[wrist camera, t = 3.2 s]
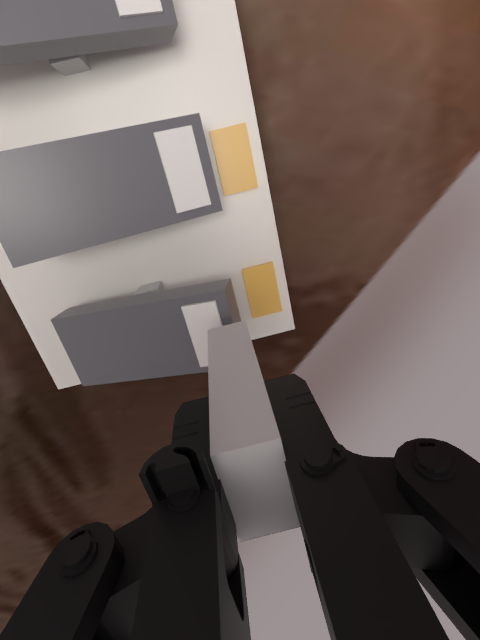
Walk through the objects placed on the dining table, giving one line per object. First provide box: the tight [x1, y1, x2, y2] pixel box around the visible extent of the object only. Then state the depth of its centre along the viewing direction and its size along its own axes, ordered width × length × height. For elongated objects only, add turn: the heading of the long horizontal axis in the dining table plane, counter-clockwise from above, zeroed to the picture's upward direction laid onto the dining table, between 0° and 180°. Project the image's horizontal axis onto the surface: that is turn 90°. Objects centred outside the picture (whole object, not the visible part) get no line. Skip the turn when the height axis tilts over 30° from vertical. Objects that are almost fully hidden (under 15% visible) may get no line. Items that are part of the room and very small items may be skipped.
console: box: [0, 0, 295, 390], centre depth 18 cm, size 15×20×6 cm
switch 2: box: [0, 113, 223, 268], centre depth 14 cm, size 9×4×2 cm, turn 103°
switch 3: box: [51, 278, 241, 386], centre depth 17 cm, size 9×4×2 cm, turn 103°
